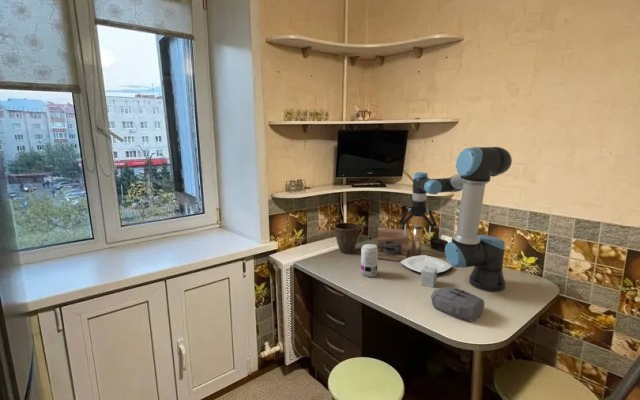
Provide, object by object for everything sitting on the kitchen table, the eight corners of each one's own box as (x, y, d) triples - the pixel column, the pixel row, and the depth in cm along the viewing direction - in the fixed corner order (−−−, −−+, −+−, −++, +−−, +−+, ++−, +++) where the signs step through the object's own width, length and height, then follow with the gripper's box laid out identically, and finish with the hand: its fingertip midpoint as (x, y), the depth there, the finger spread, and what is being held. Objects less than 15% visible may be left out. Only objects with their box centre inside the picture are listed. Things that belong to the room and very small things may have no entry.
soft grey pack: (487, 312, 138) (441, 295, 152) (489, 293, 136) (442, 277, 151) (471, 327, 128) (423, 307, 142) (473, 306, 126) (424, 288, 140)
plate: (458, 269, 179) (458, 266, 178) (428, 280, 167) (428, 276, 166) (423, 256, 198) (423, 252, 197) (394, 264, 186) (394, 261, 185)
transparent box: (405, 262, 188) (406, 239, 186) (372, 258, 194) (373, 236, 191) (408, 251, 205) (409, 230, 202) (378, 248, 211) (378, 227, 208)
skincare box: (433, 287, 159) (434, 272, 157) (420, 284, 162) (421, 270, 160) (436, 282, 164) (437, 268, 162) (423, 280, 167) (424, 265, 166)
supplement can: (357, 274, 174) (358, 246, 171) (367, 269, 180) (367, 242, 177) (370, 279, 168) (371, 250, 165) (380, 273, 174) (381, 245, 171)
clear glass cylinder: (420, 257, 195) (422, 227, 192) (410, 256, 197) (412, 226, 194) (421, 254, 200) (422, 224, 197) (411, 253, 202) (413, 224, 198)
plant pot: (345, 245, 216) (345, 221, 213) (364, 251, 206) (364, 225, 203) (329, 251, 206) (329, 226, 203) (348, 258, 196) (348, 231, 193)
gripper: (442, 200, 192) (440, 236, 196) (397, 197, 200) (395, 232, 204) (442, 203, 185) (439, 240, 189) (395, 200, 193) (394, 236, 197)
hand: (417, 236), depth 197 cm, fingers open, 13 cm apart
